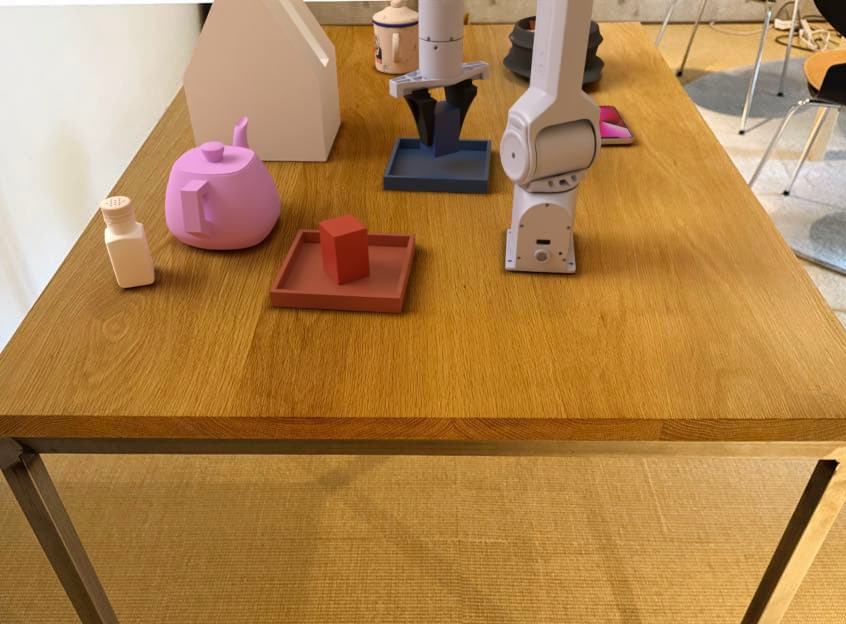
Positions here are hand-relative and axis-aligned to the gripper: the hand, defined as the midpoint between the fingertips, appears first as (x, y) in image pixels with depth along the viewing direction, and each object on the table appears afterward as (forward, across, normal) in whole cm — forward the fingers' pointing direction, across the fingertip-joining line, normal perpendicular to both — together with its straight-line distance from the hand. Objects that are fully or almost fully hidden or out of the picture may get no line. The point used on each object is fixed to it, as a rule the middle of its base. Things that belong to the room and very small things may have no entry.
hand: (439, 140), depth 106 cm
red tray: (+4, +24, +19) cm, 31 cm away
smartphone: (+4, -30, 0) cm, 30 cm away
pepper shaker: (+4, +45, +7) cm, 46 cm away
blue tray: (+4, 0, 0) cm, 4 cm away
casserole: (+5, -41, -26) cm, 48 cm away
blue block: (+1, 0, 0) cm, 1 cm away
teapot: (+4, +32, +1) cm, 32 cm away
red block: (+4, +24, +19) cm, 31 cm away
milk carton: (+4, +16, -23) cm, 29 cm away
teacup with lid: (+5, -18, -43) cm, 47 cm away
